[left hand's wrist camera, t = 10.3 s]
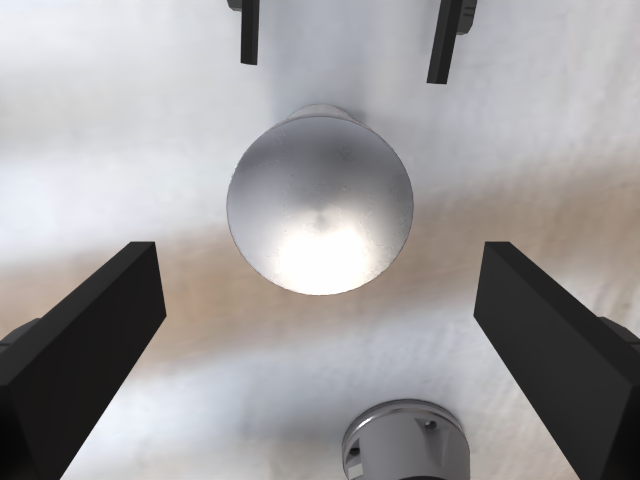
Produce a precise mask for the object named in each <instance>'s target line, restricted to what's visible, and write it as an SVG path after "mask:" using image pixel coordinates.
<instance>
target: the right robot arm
mask: <svg viewBox="0 0 640 480" xmlns="http://www.w3.org/2000/svg"><path fill="white" fill-rule="evenodd" d="M227 2H228V5H229V7H230V8H231V9H232V10H233V11H242V24H241V63H243V64H249V65H257V56H258V29H259V2H260V0H227ZM476 4H477V0H441V4H440V10H439V15H438V21H437V27H436V32H435V38H434V43H433V49H432V55H431V60H430V66H429V71H428V77H427V83H432V84H447V79H448V74H449V69H450V63H451V58H452V53H453V48H454V43H455V38H456V35H463V34H466V33H468V32H469V30H470V28H471V26H472V24H473V19H474V14H475V8H476Z"/></svg>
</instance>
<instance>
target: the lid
mask: <svg viewBox="0 0 640 480" xmlns="http://www.w3.org/2000/svg"><path fill="white" fill-rule="evenodd" d="M413 206H414V205H413V193H412V188H411V183H410V180H409V177H408V174H407V172H406V169H405V168H404V166H403V164H402V162H401V160H400V159H399V157H398V156H397V154H396V153H395V152H394V150H393V149H392V148H391V147H390V146H389V145H388V144H387V143H386V142H385V141H384V140H383V139H382V138H381V137H380V136H379V135H378V134H376V133H375V132H374V131H373V130H371V129H370V128H369V127H367V126H365V125H363V124H362V123H360V122H358V121H355V120H353V119H350V118H348V117H344V116H340V115H336V114H328V113H311V114H305V115H299V116H296V117H293V118H289V119H287V120H285V121H283V122H280V123H278V124H276V125H275V126H273V127H272V128H270V129H269V130H267V131H266V132H265V133H264V134H263V135H261V136H260V137H259V138H258V139H257V140H256V141H255V142H254V143H253V144H252V145H251V146H250V147H249V148H248V149H247V151H246V152H245V153H244V154H243V156H242V157H241V159H240V160H239V162H238V164H237V166H236V168H235V170H234V172H233V174H232V177H231V180H230V184H229V188H228V194H227V218H228V223H229V227H230V231H231V234H232V237H233V239H234V242H235V244H236V246H237V247H238V249H239V251H240V253H241V254H242V256H243V257H244V258H245V260H246V261H247V262H248V263H249V264H250V265H251V266H252V268H253V269H254V270H255V271H257V272H258V273H259V274H260V275H262V276H263V277H264V278H266V279H267V280H269V281H270V282H272V283H273V284H276V285H278V286H280V287H282V288H284V289H287V290H290V291H293V292H297V293H302V294H308V295H332V294H339V293H343V292H347V291H350V290H353V289H356V288H358V287H361V286H362V285H364V284H366V283H368V282H370V281H371V280H373V279H374V278H376V277H377V276H379V275H380V274H381V273H382V272H383V271H384V270H386V269H387V268H388V267H389V266H390V264H391V263H392V262H393V261H394V260H395V259H396V257H397V256H398V254H399V253H400V251H401V250H402V248H403V246H404V244H405V242H406V240H407V237H408V234H409V231H410V228H411V223H412V218H413Z"/></svg>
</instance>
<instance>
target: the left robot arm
mask: <svg viewBox="0 0 640 480" xmlns="http://www.w3.org/2000/svg"><path fill="white" fill-rule="evenodd" d="M166 316H167V315H166V309H165V303H164V296H163V290H162V284H161V277H160V271H159V265H158V258H157V252H156V246H155V242H130V243H129V244H128V245H126V246H125V247H124V248H123V249H122V250H121V251H119V252H118V253H117V254H116V255H115V256H114V257H112V258H111V259H110V260H109V261H108V262H106V263H105V264H104V265H103V266H102V267H101V268H99V269H98V270H97V271H96V272H95V273H94V274H92V275H91V276H90V277H89V278H88V279H86V280H85V281H84V282H83V283H82V284H81V285H79V286H78V287H77V288H76V289H75V290H74V291H72V292H71V293H70V294H69V295H68V296H67V297H65V298H64V299H63V300H62V301H61V302H59V303H58V304H57V305H56V306H55V307H54V308H52V309H51V310H50V311H49V312H48V313H47V314H45V315H44V316H43V317H42V318H36V319H34V320H32V321H30V322H28V323H26V324H24V325H22V326H20V327H19V328H17V329H15V330H13V331H12V332H11V333H9V334H8V335H7V336H6V337H4V338H3V339H2V340H1V341H0V480H60V479H61V477H62V475H63V474H64V472H65V471H66V469H67V468H68V466H69V465H70V463H71V462H72V460H73V459H74V457H75V456H76V454H77V452H78V451H79V449H80V448H81V446H82V445H83V443H84V442H85V440H86V439H87V437H88V436H89V434H90V433H91V431H92V429H93V428H94V426H95V425H96V423H97V422H98V420H99V419H100V417H101V416H102V414H103V413H104V411H105V410H106V408H107V406H108V405H109V403H110V402H111V400H112V399H113V397H114V396H115V394H116V393H117V391H118V390H119V388H120V387H121V385H122V383H123V382H124V380H125V379H126V377H127V376H128V374H129V373H130V371H131V370H132V368H133V367H134V365H135V364H136V362H137V360H138V359H139V357H140V356H141V354H142V353H143V351H144V350H145V348H146V347H147V345H148V344H149V342H150V341H151V339H152V337H153V336H154V334H155V333H156V331H157V330H158V328H159V327H160V325H161V324H162V322H163V321H164V319H165V318H166ZM473 316H474V318H475V319H476V321H477V322H478V324H479V325H480V327H481V328H482V330H483V331H484V333H485V334H486V336H487V337H488V339H489V341H490V342H491V344H492V345H493V347H494V348H495V350H496V351H497V353H498V354H499V356H500V357H501V359H502V360H503V362H504V364H505V365H506V367H507V368H508V370H509V371H510V373H511V374H512V376H513V377H514V379H515V380H516V382H517V383H518V385H519V387H520V388H521V390H522V391H523V393H524V394H525V396H526V397H527V399H528V400H529V402H530V403H531V405H532V406H533V408H534V410H535V411H536V413H537V414H538V416H539V417H540V419H541V420H542V422H543V423H544V425H545V426H546V428H547V429H548V431H549V433H550V434H551V436H552V437H553V439H554V440H555V442H556V443H557V445H558V446H559V448H560V449H561V451H562V452H563V454H564V456H565V457H566V459H567V460H568V462H569V463H570V465H571V466H572V468H573V469H574V471H575V472H576V474H577V475H578V477H579V479H580V480H640V339H639V338H638V337H637V336H635V335H634V334H633V333H632V332H630V331H629V330H628V329H627V328H625V327H623V326H621V325H619V324H617V323H615V322H613V321H611V320H609V319H607V318H605V317H597V316H596V315H595V314H593V313H592V312H591V311H590V310H589V309H588V308H586V307H585V306H584V305H583V304H582V303H581V302H579V301H578V300H577V299H576V298H575V297H573V296H572V295H571V294H570V293H569V292H568V291H566V290H565V289H564V288H563V287H562V286H561V285H559V284H558V283H557V282H556V281H555V280H554V279H552V278H551V277H550V276H549V275H548V274H546V273H545V272H544V271H543V270H542V269H541V268H539V267H538V266H537V265H536V264H535V263H534V262H532V261H531V260H530V259H529V258H528V257H526V256H525V255H524V254H523V253H522V252H521V251H519V250H518V249H517V248H516V247H515V246H514V245H512V244H511V243H510V242H485V246H484V252H483V258H482V265H481V271H480V277H479V284H478V290H477V296H476V303H475V309H474V315H473ZM342 458H343V468H344V472H345V475H346V477H347V479H348V480H470V451H469V445H468V442H467V440H466V437H465V435H464V432H463V430H462V428H461V426H460V424H459V423H458V421H457V420H456V419H455V418H454V417H453V416H452V415H451V414H450V413H449V412H447V411H446V410H444V409H443V408H441V407H439V406H437V405H434V404H431V403H428V402H424V401H417V400H398V401H392V402H388V403H384V404H381V405H378V406H376V407H374V408H372V409H370V410H368V411H366V412H365V413H363V414H362V415H361V416H359V417H358V418H357V419H356V420H355V421H354V422H353V423H352V424H351V426H350V427H349V428H348V430H347V432H346V434H345V436H344V439H343V444H342Z"/></svg>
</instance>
